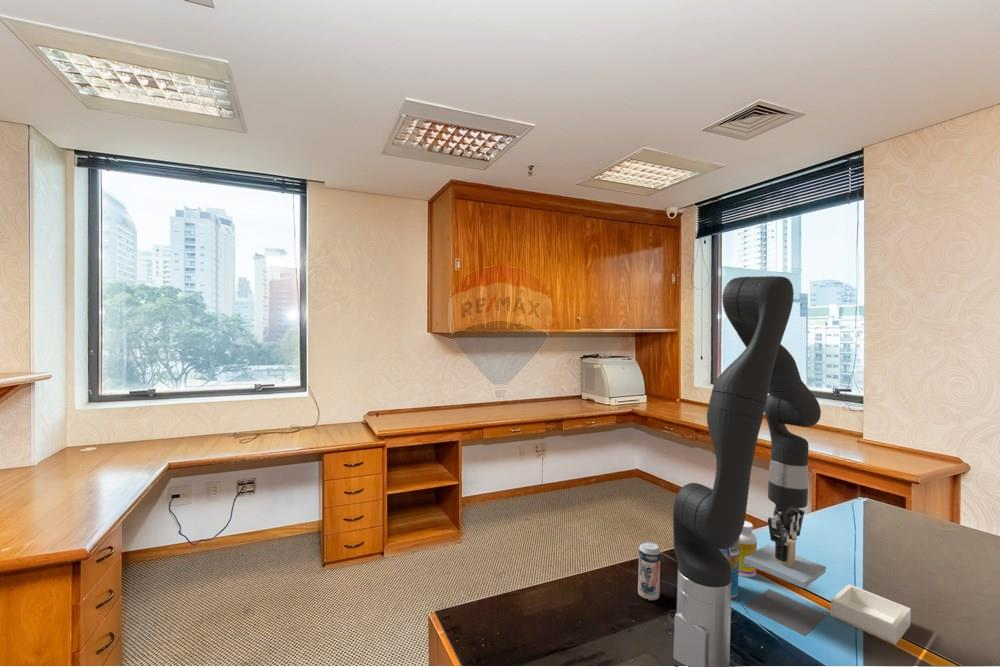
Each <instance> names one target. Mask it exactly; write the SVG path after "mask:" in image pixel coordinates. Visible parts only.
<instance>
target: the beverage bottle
mask: <svg viewBox="0 0 1000 667" xmlns="http://www.w3.org/2000/svg"><path fill="white" fill-rule="evenodd" d="M739 542H740V538H739V539H738V540H737V542H736V543H735V544H734V545H733V546H731V547H730V548H727V549H720V551H721V552H722V553H723V554H724V556H725V557H726V558H727V559H728V561H729V562H730V564H731V568H732V588H731V599H733V598H735V597H737V596H738V595H739V555H740V547H739V545H738V543H739Z"/></svg>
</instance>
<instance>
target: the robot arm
mask: <svg viewBox="0 0 1000 667" xmlns="http://www.w3.org/2000/svg"><path fill="white" fill-rule="evenodd" d="M722 292H723V293H722V298H721V300H722V307H723V310H724V313H725V315H726V317H727V319H728V321H729V323H730V324H731V326H732V327H733V330H735V332H736V333H737V336H738V338H740V341H742V343H743V345H744V346H745V349H744V350H743V352H742V353H741V354H740V355H739V356H737V357H736V358H735V360H734V361H732V363H730V365H728V366H727V367H726V368H725V369H724V370H723V371H722V372H721V373H720V374H719V376H718V377H717V379H716V380H715V382H714V384H713V386H712V389H711V390H712V391H711V395H710V399H709V401H708V402H709V403H708V406H707V412H706V421H707V422H706V423H707V427H708V432H709V436H710V439H711V443H712V446H713V450H714V455H715V460H716V461H715V462H716V470H715V477H714V481H713V482H714V483H713V487H712V488H711V487H709V486H706V485H704V484H701V483H697V482H689V483H687V484H685V485H683V486H682V487H681V488H680V489H679V490H678V492H677V494H676V496H675V498H674V503H673V511H672V525H673V526H672V528H673V529H672V532H673V551H674V554H675V557H676V559H677V589H676V613H675V614H674V618H673V619H674V625H673V628H674V629H673V630H674V631H673V658H674V659H675V660H677V661H678V662H680V663H682V664H684V665H686V666H688V667H730V661H731V660H730V657H731V656H730V655H731V652H730V650H731V615H732V598H731V588H732V568H731V564H730V562H729V561H728V559H727V558H726V557H725V556H724V554H723V553H722V552H721V551H720V549H727V548H730V547H731V546H733V545H734V544H735V543H736V542H737V540H738V539H739V537H740V535H741V532H742V529H743V526H744V522H745V521H746V517H747V516H746V515H747V509H748V499H749V489H750V483H751V482H750V481H751V474H752V468H753V462H754V457H755V451H756V447H757V443H758V437H759V433H760V431H761V427H762V423H763V419H764V415H765V420H766V423H767V425H768V431H769V436H770V443H771V446H770V447H771V448H770V462H769V468H768V485H767V488H768V489H767V498H768V500H769V501H771V502H772V503H773V504H774V505H775V507H774V509H773V513H772V517H769V516H768V518H767V524H768V531H769V532H768V533H769V536H770V541H772V542H774V543H775V542H776V550H775V557H776V559H778V560H780V561H783V562H786V561H787V555H788V541H789V539H791V540H794V541H797V539H798V537H799V536H800V535H801V531H802V530H801V529H802V526H803V525H802V524H803V520H804V515H805V510H803V509H804V508H806V507H807V506H808V503H809V502H808V501H809V500H808V499H809V477H810V476H809V466H808V465H809V446H810V445H809V442H808V440H807V439H806V438H804V437H801V436H800V435H797V434H795V433H793V432H791V431H789V430H788V428H787V426H786V425H790V426H794V427H795V426H796V427H802V428H811V427H814V426H815V425H817V424H818V423H819V421H820V420H821V414H822V411H821V410H822V409H821V406H820V404H819V401H818V399H817V397H816V395H814V393H812V391H811V390H810V389H809V387H808V386H807V385H806V384H805V383H804V381H803V380H802V377H801V374H800V371H799V368H798V366H797V362H796V360H795V358H794V357H793V355H792V354H791V352H789V351H788V349H786V347H785V346H783V345H782V344H781V343H782V341H783V337H784V334H785V332H786V330H787V325H788V323H789V319H790V316H791V313H792V309H793V303H794V294H795V293H794V292H795V291H794V286H793V283H792V282H791V280H790V279H789V278H788V277H785V276H781V275H780V276H777V275H772V276H771V275H766V276H739V277H735V278H734V277H733V278H732V279H730V280H729V281H728V282H727V283H726V285H725V287H724V288H723V291H722Z"/></svg>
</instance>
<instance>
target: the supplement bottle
mask: <svg viewBox="0 0 1000 667" xmlns="http://www.w3.org/2000/svg"><path fill="white" fill-rule="evenodd" d="M753 530H754V525H753V523H751V522H749V521H747V520H745V522H744V526H743V529H742V532H741V535H740V537H739V538H740V542H739V543H738V545H739V547H740V555H739V575H738V577H739V576H740V577H743V578H752V577H755V576H756V574H757V568H755V567H753V566H751V565H748V564H746V563H744V557H746V556H748V555H749V554H751V553H753V552H755V551H757V550H758V548H757V544H758V542H757V541H758V540H757V537H756V535H755V533H753Z"/></svg>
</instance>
